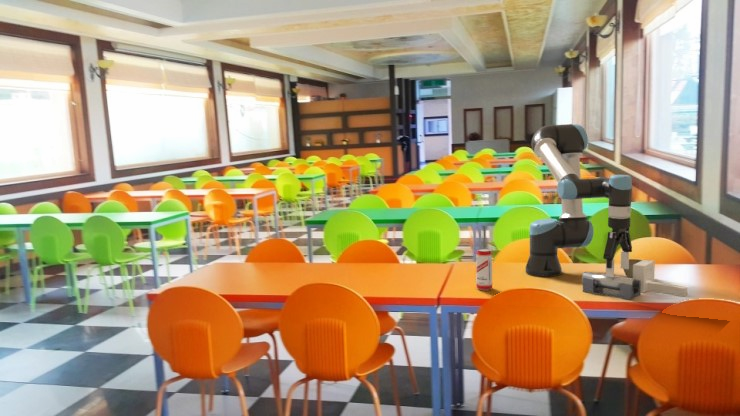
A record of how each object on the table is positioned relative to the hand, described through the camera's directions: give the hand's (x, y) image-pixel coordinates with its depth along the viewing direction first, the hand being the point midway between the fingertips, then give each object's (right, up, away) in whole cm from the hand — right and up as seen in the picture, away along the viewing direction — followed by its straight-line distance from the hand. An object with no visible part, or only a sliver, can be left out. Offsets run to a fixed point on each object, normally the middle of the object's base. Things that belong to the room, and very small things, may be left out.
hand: (617, 272), depth 210 cm
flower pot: (+17, -5, +21) cm, 28 cm away
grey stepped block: (+13, -7, +6) cm, 16 cm away
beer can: (-47, -8, +15) cm, 50 cm away
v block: (-1, -8, +2) cm, 8 cm away
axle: (-3, -4, +3) cm, 5 cm away
